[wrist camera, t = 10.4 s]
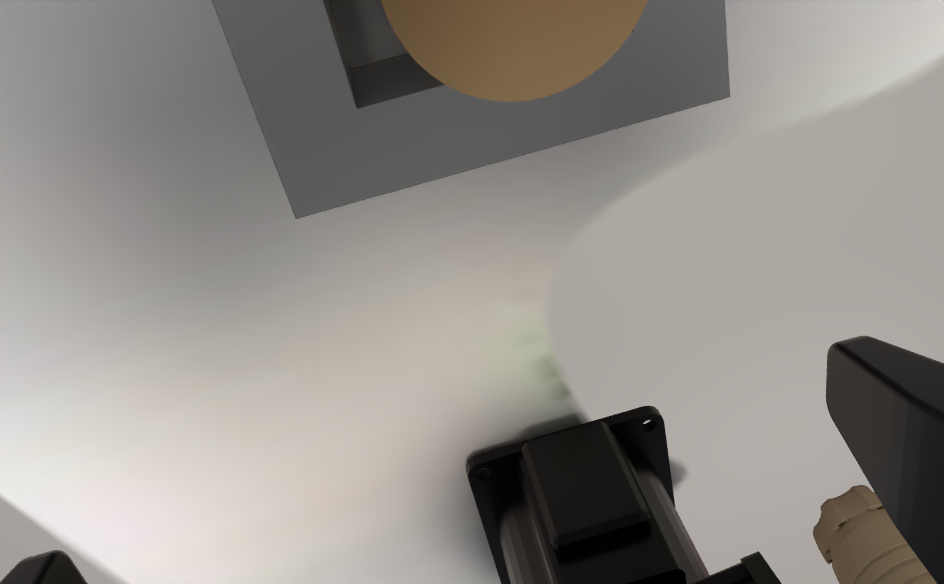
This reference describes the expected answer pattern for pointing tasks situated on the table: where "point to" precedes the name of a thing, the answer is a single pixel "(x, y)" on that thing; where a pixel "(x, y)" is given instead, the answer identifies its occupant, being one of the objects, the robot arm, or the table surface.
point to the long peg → (512, 42)
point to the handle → (866, 542)
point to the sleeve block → (444, 99)
